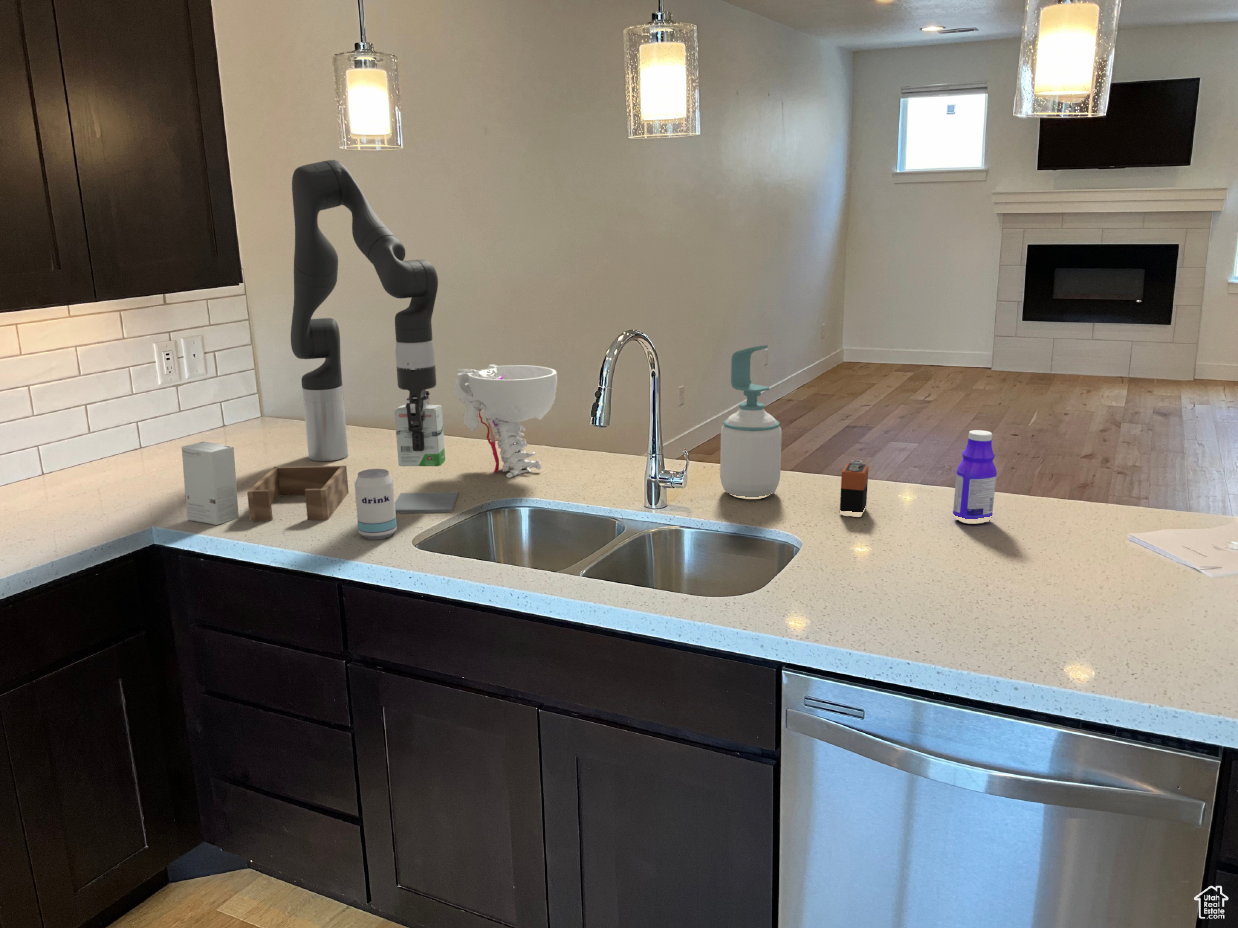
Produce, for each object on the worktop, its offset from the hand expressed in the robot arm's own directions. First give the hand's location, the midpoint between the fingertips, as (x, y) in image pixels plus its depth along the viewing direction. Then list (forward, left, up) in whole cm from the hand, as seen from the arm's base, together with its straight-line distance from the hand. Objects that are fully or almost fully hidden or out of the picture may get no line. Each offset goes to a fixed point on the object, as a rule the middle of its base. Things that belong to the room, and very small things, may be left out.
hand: (421, 446), depth 201 cm
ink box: (0, 0, -4) cm, 4 cm away
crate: (0, -25, -12) cm, 28 cm away
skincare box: (+7, -40, -12) cm, 42 cm away
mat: (0, 0, -12) cm, 12 cm away
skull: (-24, +15, -12) cm, 31 cm away
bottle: (+19, +106, -12) cm, 109 cm away
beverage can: (+19, -6, -12) cm, 23 cm away
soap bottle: (-2, +67, -12) cm, 68 cm away
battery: (+12, +85, -12) cm, 87 cm away
